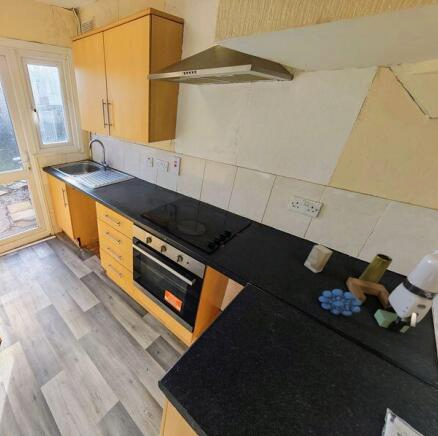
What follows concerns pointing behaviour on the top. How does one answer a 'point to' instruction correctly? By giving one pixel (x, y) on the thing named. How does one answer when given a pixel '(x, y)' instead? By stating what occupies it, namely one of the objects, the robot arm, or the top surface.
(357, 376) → the top surface
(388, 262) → the vase
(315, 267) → the cosmetic box
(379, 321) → the light green block
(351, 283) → the brown wooden u-shaped piece
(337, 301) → the grapes
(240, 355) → the top surface
